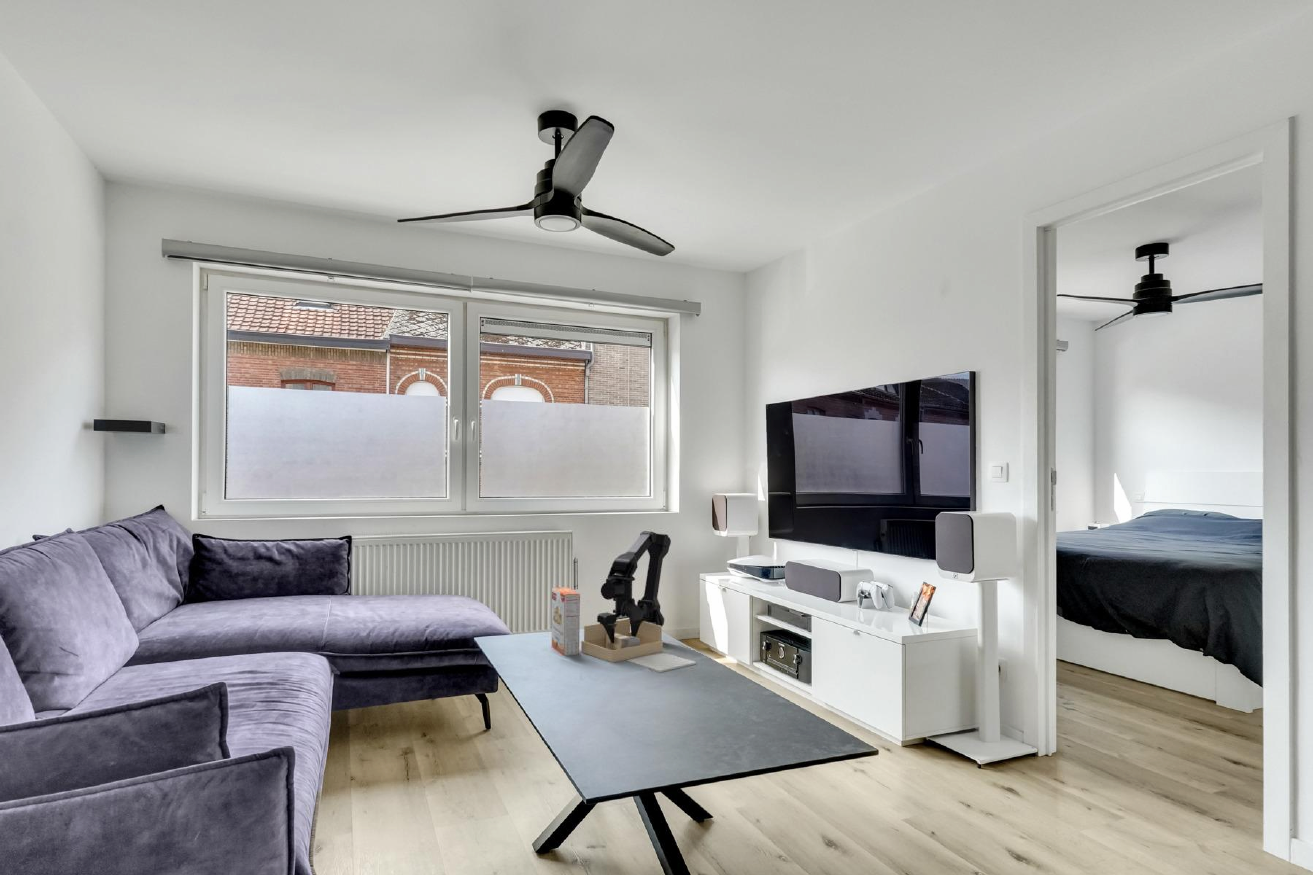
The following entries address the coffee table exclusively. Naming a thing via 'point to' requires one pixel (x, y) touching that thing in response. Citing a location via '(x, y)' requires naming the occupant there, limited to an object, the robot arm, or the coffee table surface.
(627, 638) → the grey and cream hammer
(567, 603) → the cracker box
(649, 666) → the grey mat
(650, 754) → the coffee table surface
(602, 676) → the coffee table surface
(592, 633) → the carton
